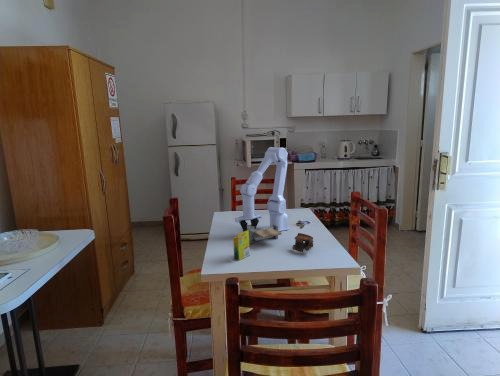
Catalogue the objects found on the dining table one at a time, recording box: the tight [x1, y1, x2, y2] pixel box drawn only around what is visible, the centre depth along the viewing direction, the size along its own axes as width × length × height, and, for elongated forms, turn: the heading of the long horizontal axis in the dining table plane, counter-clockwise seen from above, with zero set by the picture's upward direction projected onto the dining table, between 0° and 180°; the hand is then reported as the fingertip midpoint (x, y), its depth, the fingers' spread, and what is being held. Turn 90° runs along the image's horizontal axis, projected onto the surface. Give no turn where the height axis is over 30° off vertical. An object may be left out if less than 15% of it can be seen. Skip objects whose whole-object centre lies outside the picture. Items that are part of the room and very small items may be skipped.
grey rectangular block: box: [247, 224, 255, 230], centre depth 168 cm, size 4×4×6 cm
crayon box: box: [232, 230, 250, 261], centre depth 142 cm, size 7×3×12 cm, turn 140°
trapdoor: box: [250, 226, 282, 238], centre depth 160 cm, size 12×14×3 cm
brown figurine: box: [292, 232, 314, 253], centre depth 149 cm, size 12×9×8 cm
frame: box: [249, 225, 279, 246], centre depth 163 cm, size 16×6×7 cm, turn 118°
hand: (249, 233), depth 168 cm, fingers closed on grey rectangular block, 4 cm apart
